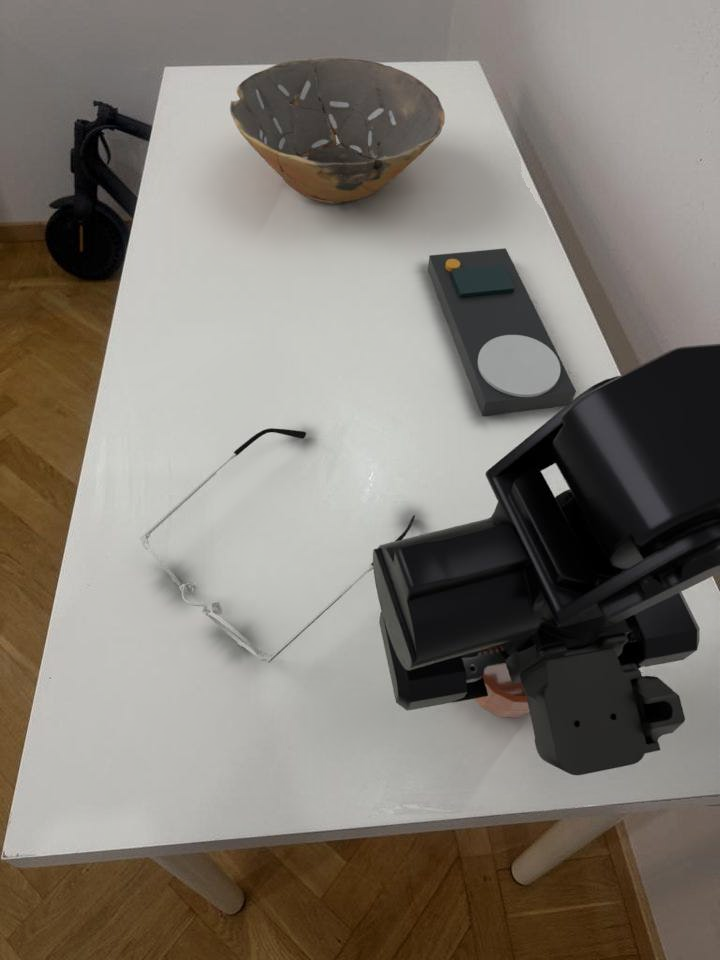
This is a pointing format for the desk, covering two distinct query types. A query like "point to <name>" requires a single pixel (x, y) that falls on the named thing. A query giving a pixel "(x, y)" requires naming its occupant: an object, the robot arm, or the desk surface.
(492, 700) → the terracotta cup
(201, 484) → the eyeglasses
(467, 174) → the desk surface
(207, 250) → the desk surface
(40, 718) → the desk surface
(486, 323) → the scale
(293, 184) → the bowl
